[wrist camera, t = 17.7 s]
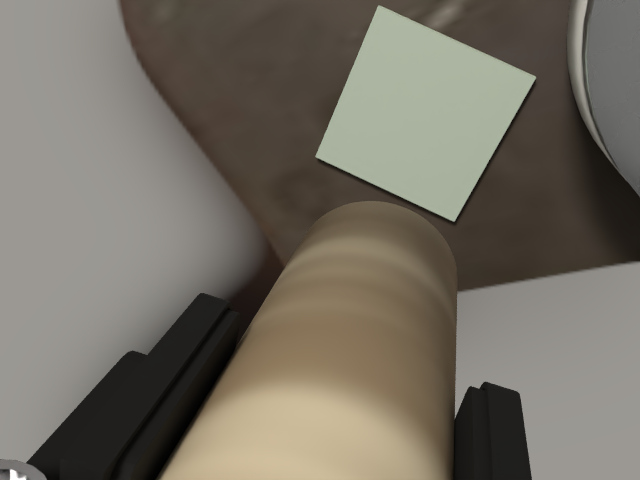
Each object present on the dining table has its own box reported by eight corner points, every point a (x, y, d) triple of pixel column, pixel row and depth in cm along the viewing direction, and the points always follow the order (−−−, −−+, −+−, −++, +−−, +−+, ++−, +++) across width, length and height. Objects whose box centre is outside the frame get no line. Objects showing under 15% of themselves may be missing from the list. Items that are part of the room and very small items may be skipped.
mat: (535, 76, 31) (536, 77, 30) (454, 219, 35) (454, 221, 34) (379, 5, 31) (378, 5, 31) (316, 155, 35) (315, 156, 35)
